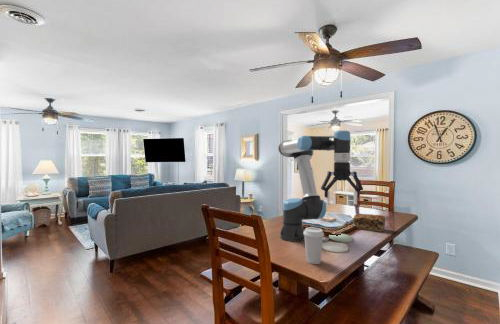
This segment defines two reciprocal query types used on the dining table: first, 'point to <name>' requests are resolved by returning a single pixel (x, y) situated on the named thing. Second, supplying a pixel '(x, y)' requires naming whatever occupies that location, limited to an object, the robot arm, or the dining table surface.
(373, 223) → the bread
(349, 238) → the coaster sage
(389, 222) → the dining table surface
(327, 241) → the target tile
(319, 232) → the coffee cup
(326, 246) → the coaster cream
